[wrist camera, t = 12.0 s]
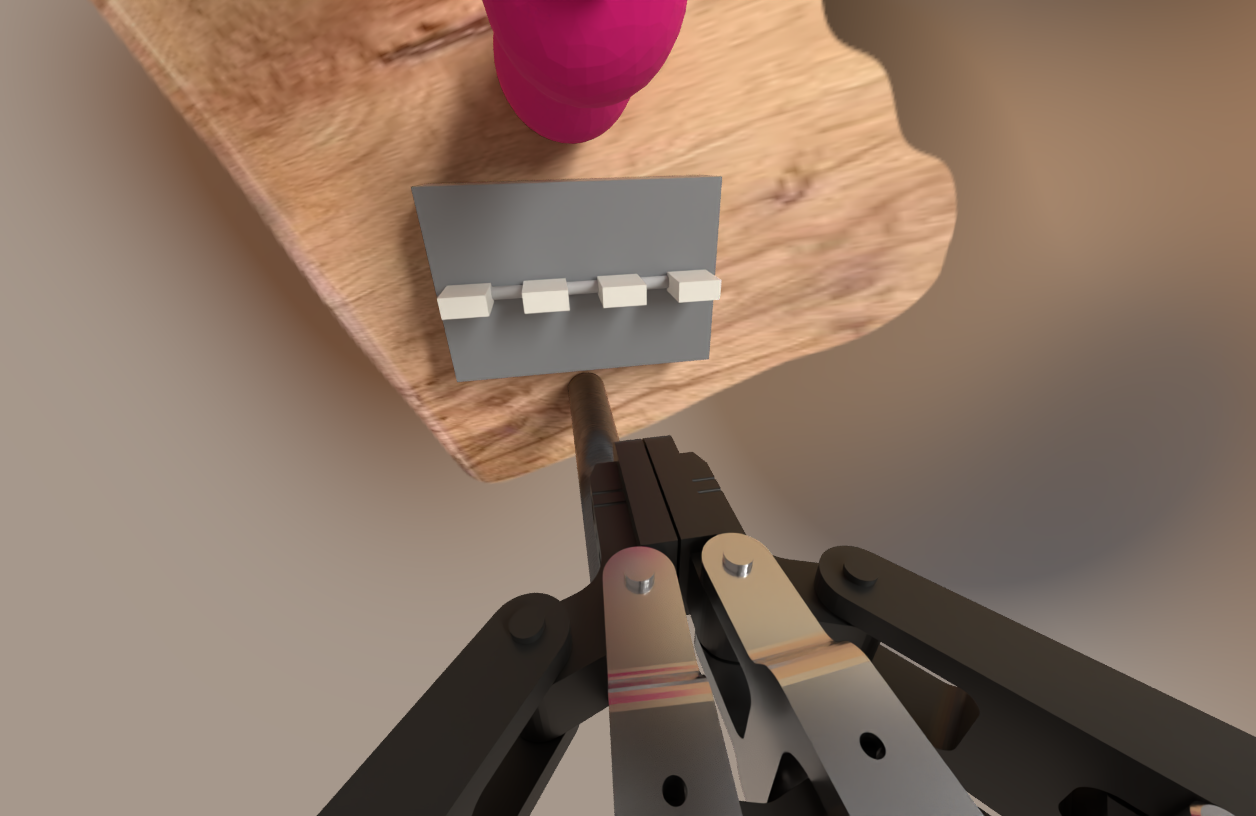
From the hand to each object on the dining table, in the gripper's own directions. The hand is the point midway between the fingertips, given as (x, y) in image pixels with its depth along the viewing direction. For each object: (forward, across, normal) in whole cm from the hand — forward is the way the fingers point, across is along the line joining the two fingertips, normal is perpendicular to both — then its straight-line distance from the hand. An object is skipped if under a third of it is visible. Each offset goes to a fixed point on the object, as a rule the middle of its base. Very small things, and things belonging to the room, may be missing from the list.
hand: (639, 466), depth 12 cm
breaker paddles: (+20, 0, 0) cm, 20 cm away
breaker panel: (+24, 0, 0) cm, 24 cm away
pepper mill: (+24, 0, -11) cm, 26 cm away
